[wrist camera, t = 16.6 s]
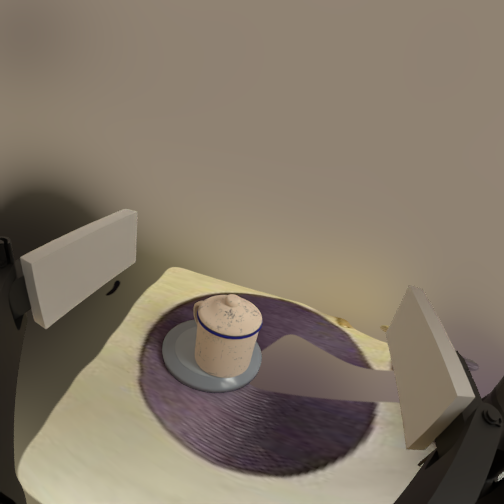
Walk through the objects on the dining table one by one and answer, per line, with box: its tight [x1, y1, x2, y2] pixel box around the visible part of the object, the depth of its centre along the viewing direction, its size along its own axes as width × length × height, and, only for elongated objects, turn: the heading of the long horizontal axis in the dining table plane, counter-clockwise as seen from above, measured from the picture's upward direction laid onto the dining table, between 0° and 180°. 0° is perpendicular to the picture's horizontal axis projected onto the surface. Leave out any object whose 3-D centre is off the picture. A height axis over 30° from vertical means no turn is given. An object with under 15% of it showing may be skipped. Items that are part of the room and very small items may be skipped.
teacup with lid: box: [194, 294, 262, 378], centre depth 41 cm, size 12×9×12 cm
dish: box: [162, 320, 262, 393], centre depth 44 cm, size 16×16×1 cm
